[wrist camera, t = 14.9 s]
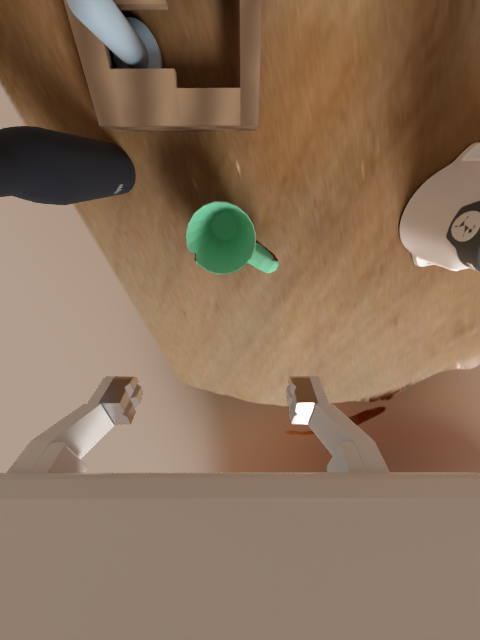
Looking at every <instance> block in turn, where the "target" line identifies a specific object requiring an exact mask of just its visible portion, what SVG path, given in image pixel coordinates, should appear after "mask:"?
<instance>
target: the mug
mask: <svg viewBox="0 0 480 640" xmlns="http://www.w3.org/2000/svg"><path fill="white" fill-rule="evenodd" d="M186 242H187V247H188V249H189V252H190V253H194V254H195V261H196V263H197V264H198V265H199V266H201V267H202V268H204V269H205V270H207V271H209V272H212V273H215V274H229V273H233V272H236V271H238V270H239V269H241V268H242V267H244V266H245V265H246V264H247V263H249V264H251V265H253V266H254V267H256V268H258V269H259V270H261V271H263V272H265V273H271V272H274V271H275V270H276V269H277V267H278V260H277V258H276V257H275V255H274V254H273V253H272V252H270V251H269V250H268V249H267V248H265V247H264V246H263V245H262V244H261V243H259V242H258V241H257V240H256V233H255V229H254V225H253V223H252V221H251V220H250V218H249V216H248V215H247V213H246V212H244V211H243V210H242V209H241V208H240V207H239V206H237V205H234V204H232V203H229V202H227V201H213V202H211V203H208V204H205V205H203V206H202V207H200V208H199V209H198V210H197V211H196V212H194V214H193V215H192V217H191V219H190V221H189V222H188V225H187V230H186Z"/></svg>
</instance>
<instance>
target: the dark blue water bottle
mask: <svg viewBox="0 0 480 640" xmlns="http://www.w3.org/2000/svg"><path fill="white" fill-rule="evenodd" d="M135 176H136V175H135V169H134V166H133V164H132V161H131V159H130V158H129V157H128V155H127V154H126V153H125V152H124V151H123V150H122V149H121V148H119V147H118V146H115V145H113V144H110V143H106V142H101V141H97V140H92V139H88V138H84V137H79V136H75V135H70V134H66V133H61V132H57V131H52V130H48V129H44V128H39V127H30V126H21V127H9V128H4V129H1V130H0V197H5V196H15V197H18V198H22V199H25V200H29V201H32V202H36V203H44V204H56V205H68V204H73V203H78V202H83V201H89V200H94V199H99V198H104V197H109V196H114V195H119V194H124V193H127V192H129V191H130V190H131V189H132V188H133V186H134V183H135Z"/></svg>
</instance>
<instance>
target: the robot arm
mask: <svg viewBox="0 0 480 640" xmlns="http://www.w3.org/2000/svg"><path fill="white" fill-rule="evenodd" d="M400 238H401V241H402V243H403V245H404V246H405V248H406V249H408V250H409V251H410V252H411V254H412V258H413V262H414V264H415V265H417V266H420V267H423V266H428V265H434V264H435V265H438V266H441V267H444V268H446V269H449V270H452V271H458V270H462V269H468V268H471V269H473V270H475V271H477V272H480V142H476V143H473V144H471V145H470V146H469V147H468V148H466V149H465V150H464V151H463V152H462V153H461V154H460V155H459V156H458V157H457V159H456V160H455V161H454V162H452V163H451V164H450V165H448V166H447V167H445V168H443V169H442V170H440V171H438V172H437V173H436V174H434V175H433V176H431V177H430V178H429V179H428V180H427V181H426V182H424V183H423V184H422V185H421V187H420V188H419V189H418V190H417V191H416V192H415V194H414V195H413V196H412V198H411V199H410V201H409V202H408V204H407V206H406V208H405V210H404V212H403V215H402V218H401V222H400ZM137 383H138V379H137V378H136V377H117V376H115V377H114V376H111V377H110V376H107V377H105V378H104V379H103V380H102V382H101V383H100V385H99V386H98V388H97V389H96V391H95V392H94V394H93V395H92V397H91V399H90V400H89V402H88V403H87V404H83V405H82V406H81V407H79V408H78V409H76V410H75V411H73V412H72V413H70V414H69V415H68V416H66V417H65V418H63V419H62V420H60V421H59V422H57V423H56V424H55V425H53V426H52V427H50V428H49V429H47V430H46V431H45V432H43V433H42V434H40V435H39V436H37V437H36V438H34V439H33V440H32V441H31V442H30V443H29V444H28V445H27V447H26V448H25V449H24V451H23V452H22V453H21V455H20V456H19V457H18V459H17V460H16V461H15V462H14V464H13V465H12V466H11V467H10V469H9V470H8V471H7V473H0V640H480V473H474V472H389V470H388V468H387V466H386V464H385V462H384V460H383V458H382V456H381V454H380V452H379V450H378V448H377V446H376V444H375V442H374V440H373V439H371V438H370V437H369V436H368V435H367V434H366V433H365V432H364V431H362V430H361V429H360V428H359V427H358V426H357V425H356V424H355V423H353V422H352V421H351V420H350V419H349V418H348V417H347V416H346V415H344V414H343V413H342V412H341V411H340V410H339V409H338V408H337V407H335V406H334V405H333V404H329V401H328V399H327V396H326V394H325V391H324V389H323V386H322V383H321V381H320V378H319V377H308V376H296V377H289V379H288V383H289V385H288V386H287V389H286V397H287V404H288V405H289V406H290V411H289V413H290V418H291V422H292V424H308V425H309V427H310V428H311V430H312V431H313V432H314V433H315V434H316V436H317V437H318V438H319V439H320V441H321V442H322V443H323V444H324V446H325V447H326V448H327V449H328V451H329V452H330V453H331V454H332V455H333V457H332V459H331V461H330V463H329V464H328V466H327V471H328V472H324V473H321V472H320V473H319V472H318V473H317V472H316V473H85V471H86V469H87V466H86V465H85V464H84V463H83V462H82V461H81V460H80V459H81V458H82V457H83V456H84V455H85V454H86V453H87V452H88V451H89V450H90V449H91V448H92V447H93V446H94V445H95V444H96V443H97V442H98V441H99V440H100V439H101V438H102V437H103V436H104V435H105V434H106V433H107V432H108V431H109V430H110V429H111V428H112V427H113V426H114V425H117V424H131V423H132V420H133V418H134V416H135V413H136V410H135V407H137V406H138V405H139V404H140V401H141V398H142V389H141V387H140V386H139V385H138V384H137Z"/></svg>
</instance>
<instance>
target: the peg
mask: <svg viewBox="0 0 480 640" xmlns="http://www.w3.org/2000/svg"><path fill="white" fill-rule="evenodd" d="M66 1H67V3H68V6H69V7H70V9H71V11H72V12H73V14H74V15H75V16H76V17H77V18H78V19H79V20H80V21H81V22H82V23H83V24H84V25H85V26H86V27H87V28H88V29H89V30H90V31H91V32H92V33H93V34H94V35H95V36H96V37H98V38H99V39H100V40H101V41H102V42H103V43H104V44H105V45H106V46H107V47H108V48H109V49H110V50H111V51H112V54H113V58H114V61H115V64H116V66H117V68H118V69H163V63H162V56H161V52H160V49H159V46H158V44H157V42H156V40H155V38H154V36H153V35H152V33H151V32H150V30H149V29H148V28H147V27H146V25H145V24H143V23H142V22H141V21H140V20H138V19H136V18H132V17H126V18H125V17H124V15H123V14H122V12H121V11H120V10H119V8H118V7H117V6H116V4H115V3H114V1H113V0H66Z"/></svg>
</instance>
